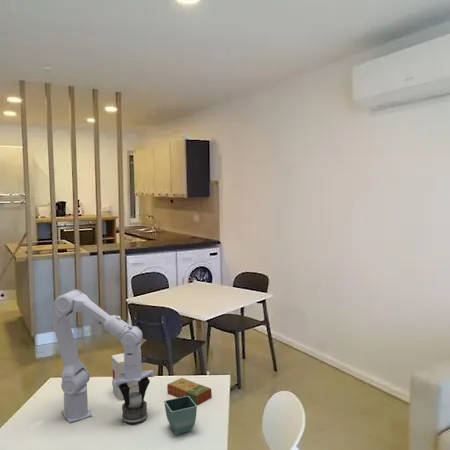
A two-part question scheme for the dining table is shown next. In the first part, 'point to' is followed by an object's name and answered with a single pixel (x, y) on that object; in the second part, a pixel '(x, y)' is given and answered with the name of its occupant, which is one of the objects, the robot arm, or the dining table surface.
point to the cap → (135, 400)
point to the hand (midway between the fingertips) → (134, 401)
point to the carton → (189, 390)
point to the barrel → (134, 414)
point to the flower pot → (181, 414)
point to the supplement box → (118, 372)
